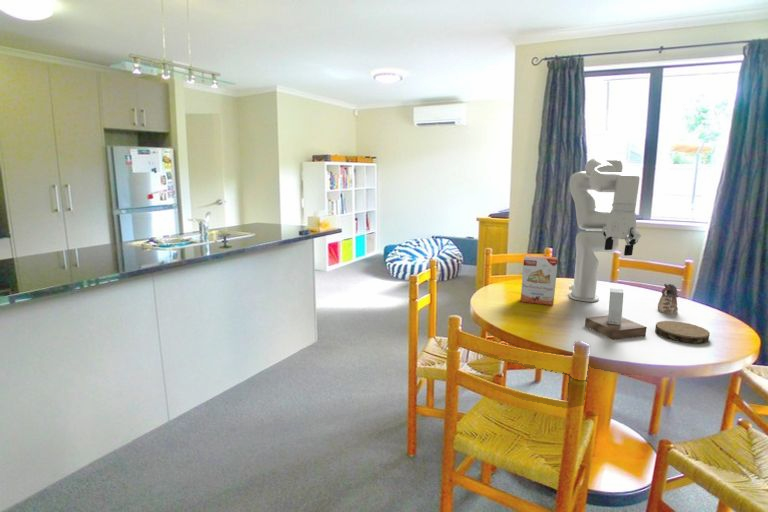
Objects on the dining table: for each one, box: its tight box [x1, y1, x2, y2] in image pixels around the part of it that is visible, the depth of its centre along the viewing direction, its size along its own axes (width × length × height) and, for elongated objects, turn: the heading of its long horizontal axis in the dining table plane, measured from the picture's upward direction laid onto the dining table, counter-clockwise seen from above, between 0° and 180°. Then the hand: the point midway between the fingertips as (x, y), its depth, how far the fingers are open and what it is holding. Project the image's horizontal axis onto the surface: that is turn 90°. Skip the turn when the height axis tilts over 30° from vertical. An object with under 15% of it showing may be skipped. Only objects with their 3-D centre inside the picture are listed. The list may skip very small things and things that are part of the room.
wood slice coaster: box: [654, 320, 711, 345], centre depth 153 cm, size 16×16×3 cm
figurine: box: [657, 283, 680, 315], centre depth 180 cm, size 7×7×12 cm
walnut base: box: [584, 314, 648, 341], centre depth 157 cm, size 14×14×4 cm
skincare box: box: [607, 287, 624, 325], centre depth 156 cm, size 6×4×12 cm
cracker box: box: [520, 254, 559, 306], centre depth 190 cm, size 14×6×21 cm, turn 68°
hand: (617, 252), depth 164 cm, fingers open, 9 cm apart
